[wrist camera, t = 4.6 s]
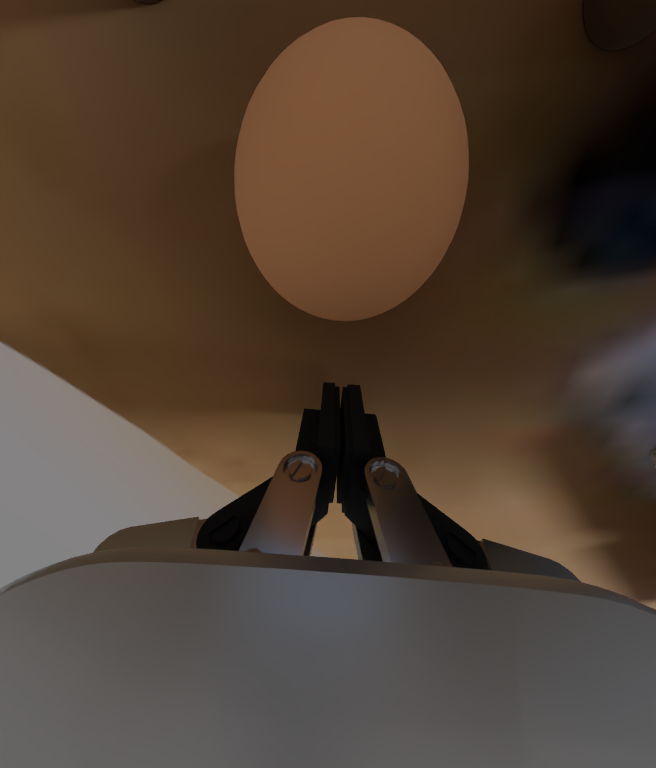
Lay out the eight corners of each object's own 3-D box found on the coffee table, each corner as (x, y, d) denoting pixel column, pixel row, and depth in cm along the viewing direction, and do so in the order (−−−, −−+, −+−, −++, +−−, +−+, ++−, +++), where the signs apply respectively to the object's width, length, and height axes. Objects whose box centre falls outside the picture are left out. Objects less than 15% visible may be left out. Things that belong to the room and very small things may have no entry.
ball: (517, 313, 4) (404, 323, 9) (593, -143, 3) (414, 164, 8) (203, 315, 4) (269, 324, 9) (142, -179, 3) (258, 161, 8)
